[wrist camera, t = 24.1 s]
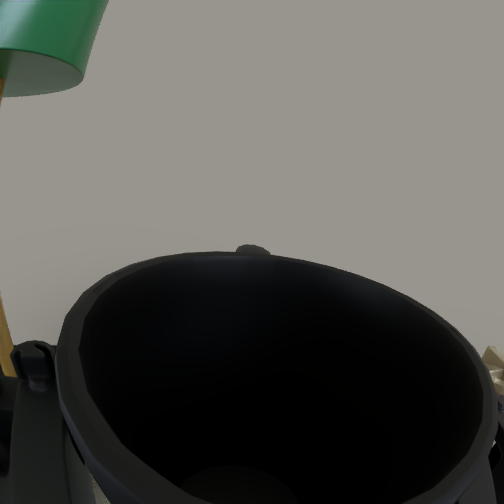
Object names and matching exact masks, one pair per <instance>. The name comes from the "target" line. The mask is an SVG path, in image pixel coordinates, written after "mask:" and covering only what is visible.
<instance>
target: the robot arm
mask: <svg viewBox="0 0 504 504" xmlns="http://www.w3.org/2000/svg"><path fill="white" fill-rule="evenodd" d="M10 358H11V361H12V364H13V367H14V370H15V372H16V375H17V377H11V376H4V375H0V504H10V502H11V504H96V501H95V497H94V492H93V487H92V483H91V477H90V472H89V468H88V466H87V464H86V462H85V461H84V459H83V457H82V455H81V453H80V451H79V449H78V447H77V445H76V443H75V440H74V438H73V436H72V434H71V432H70V429H69V427H68V425H67V423H66V420H65V418H64V415H63V413H62V410H61V408H60V402H59V396H58V388H57V380H56V370H55V350H54V348H53V347H52V346H51V345H50V344H48V343H46V342H43V341H37V340H34V341H26V342H24V343H21V344H19V345H18V346H16V347H15V348H14V349H13V350H12V352H11V353H10ZM497 397H498V430H497V433H496V436H495V439H494V440H495V441H496V443H495V445H494V446H493V447H492V448H491V450H490V453H489V455H488V458H487V460H486V463H485V465H484V467H483V469H482V471H481V473H480V475H479V476H478V478H477V479H476V480H475V481H474V482H473V484H472V485H471V486H470V487H469V488H468V490H467V491H466V492H465V493H464V494H463V495H462V496H461V498H460V499H459V500H458V501H457V502H456V503H455V504H504V396H502V395H500V394H497Z"/></svg>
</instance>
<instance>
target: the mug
mask: <svg viewBox="0 0 504 504" xmlns="http://www.w3.org/2000/svg"><path fill="white" fill-rule="evenodd" d="M55 370H56V380H57V388H58V396H59V402H60V408H61V410H62V413H63V415H64V418H65V420H66V423H67V425H68V427H69V429H70V432H71V434H72V436H73V438H74V440H75V443H76V445H77V447H78V449H79V451H80V453H81V455H82V457H83V459H84V461H85V462H86V464H87V466H88V468H89V470H90V472H91V473H92V475H93V477H94V479H95V480H96V482H97V484H98V485H99V487H100V488H101V490H102V491H103V493H104V494H105V496H106V497H107V499H108V500H109V502H110V503H111V504H455V503H456V502H457V501H458V500H459V499H460V498H461V496H462V495H463V494H464V493H465V492H466V491H467V490H468V488H469V487H470V486H471V485H472V484H473V482H474V481H475V480H476V479H477V478H478V476H479V475H480V473H481V471H482V469H483V467H484V465H485V463H486V460H487V458H488V455H489V453H490V450H491V447H492V445H493V442H494V439H495V436H496V433H497V430H498V397H497V393H496V390H495V387H494V384H493V381H492V378H491V375H490V372H489V370H488V368H487V367H486V365H485V363H484V362H483V360H482V359H481V357H480V356H479V354H478V352H477V351H476V349H475V348H474V347H473V346H472V345H471V344H470V343H469V342H468V341H467V339H466V338H465V337H464V336H463V335H462V334H461V333H460V332H459V331H458V330H457V329H456V328H455V327H453V326H452V325H451V324H449V323H448V322H447V321H446V320H444V319H443V318H442V317H441V316H439V315H438V314H436V313H435V312H434V311H432V310H431V309H429V308H427V307H426V306H424V305H422V304H420V303H419V302H417V301H416V300H414V299H412V298H411V297H409V296H407V295H404V294H402V293H400V292H398V291H396V290H394V289H392V288H390V287H388V286H386V285H383V284H381V283H378V282H376V281H373V280H370V279H368V278H365V277H362V276H360V275H357V274H354V273H351V272H347V271H344V270H341V269H337V268H334V267H330V266H327V265H322V264H318V263H314V262H309V261H305V260H300V259H294V258H288V257H282V256H275V255H271V254H270V252H268V251H267V250H265V249H264V248H262V247H259V246H256V245H242V246H239V247H238V248H237V250H236V252H218V251H215V252H196V253H195V252H194V253H182V254H175V255H168V256H161V257H156V258H153V259H149V260H145V261H141V262H138V263H134V264H131V265H128V266H126V267H124V268H122V269H120V270H117V271H115V272H113V273H111V274H108V275H106V276H105V277H103V278H102V279H101V280H99V281H98V282H97V283H95V284H94V285H93V286H91V287H90V288H89V289H87V290H86V291H85V292H83V294H82V295H81V296H80V297H79V299H78V300H77V302H76V303H75V304H74V306H73V307H72V308H71V309H70V311H69V312H68V314H67V315H66V316H65V319H64V323H63V326H62V329H61V333H60V336H59V340H58V343H57V347H56V352H55Z"/></svg>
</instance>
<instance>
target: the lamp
mask: <svg viewBox="0 0 504 504" xmlns="http://www.w3.org/2000/svg"><path fill="white" fill-rule="evenodd" d="M108 1H109V0H0V105H1V100H2V97H18V96H30V95H40V94H48V93H53V92H59V91H63V90H66V89H70V88H73V87H75V86H77V85H79V84H80V83H81V82H82V81H83V78H84V74H85V71H86V67H87V63H88V59H89V56H90V52H91V49H92V46H93V42H94V40H95V36H96V33H97V30H98V28H99V25H100V22H101V19H102V16H103V13H104V11H105V9H106V6H107V4H108ZM13 349H14V346H13V343H12V339H11V336H10V332H9V329H8V325H7V321H6V317H5V313H4V308H3V303H2V299H1V293H0V364H1V367H2V369H3V372H4V374H5V376H11V377H17V375H16V372H15V370H14V367H13V364H12V361H11V358H10V353H11V352H12V350H13Z"/></svg>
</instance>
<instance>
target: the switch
mask: <svg viewBox="0 0 504 504" xmlns="http://www.w3.org/2000/svg"><path fill="white" fill-rule="evenodd" d="M484 363H485V365H486V367H487V368H488V370H489V372H490V374H491V375H492V377H493V378H494V379H495V381H494V382H493V384H494V387H495V390H496V393H497V394H500V395H502V396H504V381H501V376H502V373H503V369H502V368H499V367H497V366H494V365H491V364H489V363H486V362H484Z"/></svg>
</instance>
